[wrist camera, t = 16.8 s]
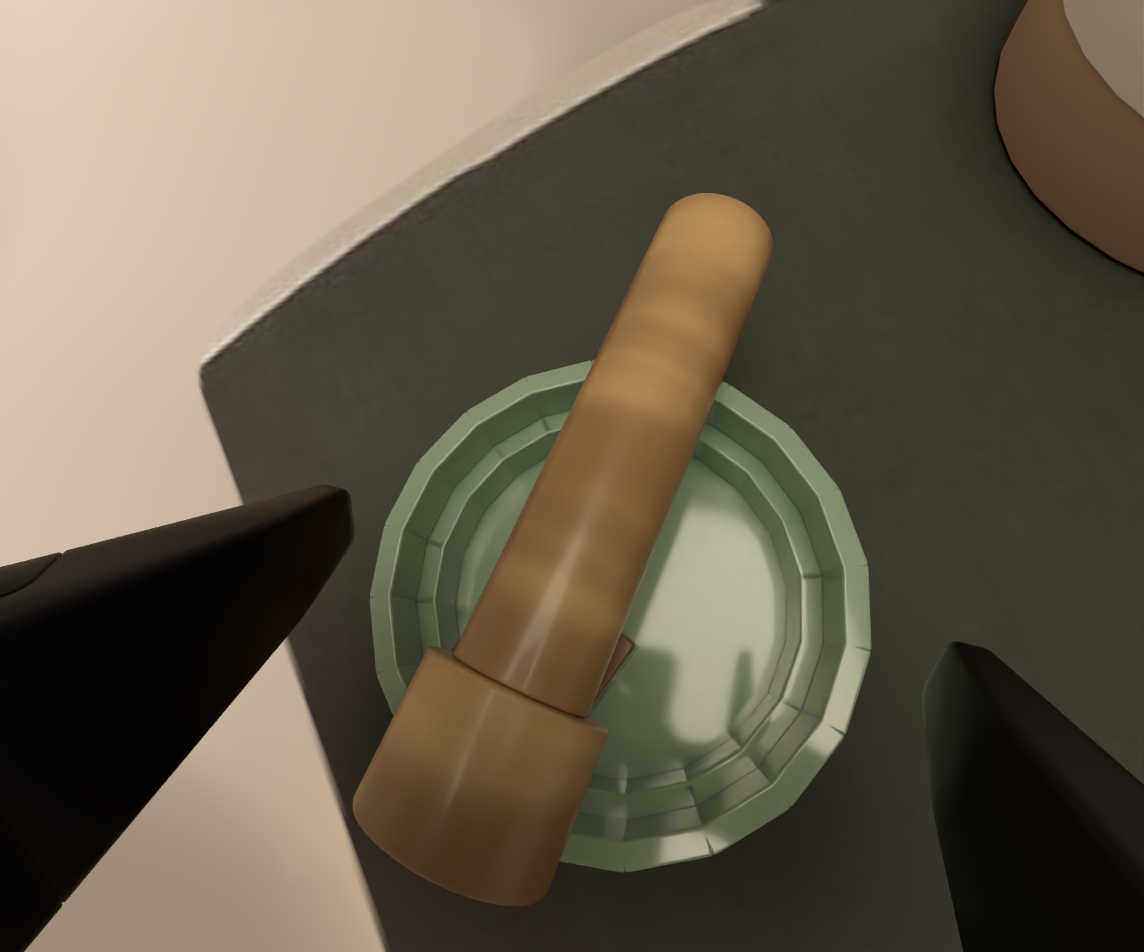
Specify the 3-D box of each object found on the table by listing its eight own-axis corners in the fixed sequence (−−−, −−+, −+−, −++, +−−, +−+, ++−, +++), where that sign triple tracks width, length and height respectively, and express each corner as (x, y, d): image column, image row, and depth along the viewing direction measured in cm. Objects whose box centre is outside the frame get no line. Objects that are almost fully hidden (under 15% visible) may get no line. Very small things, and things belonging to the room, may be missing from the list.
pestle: (537, 944, 8) (820, 205, 13) (311, 819, 9) (652, 152, 13) (553, 857, 12) (766, 310, 16) (393, 774, 13) (638, 266, 17)
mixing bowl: (540, 905, 16) (504, 988, 12) (372, 532, 20) (305, 504, 16) (913, 675, 16) (994, 682, 12) (675, 354, 20) (680, 285, 16)
